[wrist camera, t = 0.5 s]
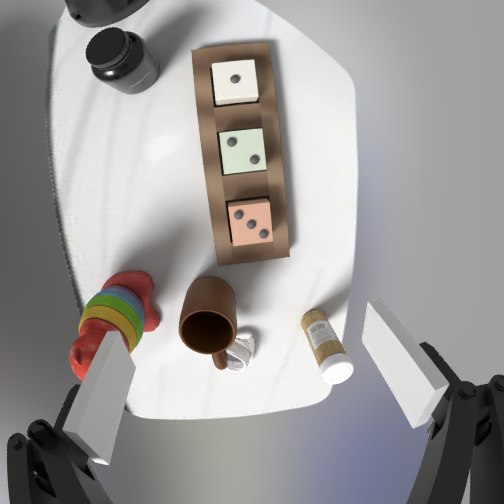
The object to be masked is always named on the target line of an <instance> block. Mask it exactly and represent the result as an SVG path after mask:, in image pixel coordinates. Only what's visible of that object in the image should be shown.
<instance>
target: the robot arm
mask: <svg viewBox="0 0 504 504" xmlns="http://www.w3.org/2000/svg"><path fill="white" fill-rule="evenodd" d="M147 1H148V0H65V2H66V5H67V8H68V11H69V14H70V16H71V17H72V18H73V19H74V20H75V21H76V22H78V23H79V24H80V25H82V26H85V27H90V28H96V27H103V26H107V25H110V24H113V23H116V22H118V21H120V20H122V19H124V18H126V17H128V16H129V15H131V14H132V13H134V12H135V11H137V10H138V9H139V8H141V7H142V6H143V5H144V4H145V3H146V2H147ZM362 342H363V344H364V345H365V347H366V349H367V350H368V352H369V353H370V355H371V357H372V358H373V360H374V362H375V363H376V365H377V367H378V368H379V370H380V372H381V373H382V375H383V377H384V379H385V380H386V382H387V383H388V385H389V387H390V389H391V390H392V392H393V394H394V396H395V397H396V399H397V401H398V403H399V404H400V406H401V408H402V410H403V411H404V413H405V415H406V417H407V419H408V420H409V422H410V424H411V426H412V428H416V427H418V426H420V425H422V424H424V423H426V422H427V421H428V419H429V418H430V416H431V415H432V417H433V418H434V421H433V422H432V424H431V425H430V427H429V428H428V430H427V433H429V431H430V430H431V431H430V435H429V439H428V443H427V446H426V450H425V453H424V457H423V460H422V463H421V466H420V469H419V472H418V475H417V478H416V481H415V483H414V486H413V489H412V491H411V494H410V496H409V498H408V501H407V503H406V504H461V501H462V498H463V494H464V491H465V487H466V483H467V479H468V475H469V470H470V504H504V376H503V375H495V376H493V377H492V378H491V380H490V382H489V383H488V384H484V385H479V386H475V385H474V384H473V383H471V382H468V381H461V380H460V379H459V378H458V377H457V375H456V374H455V373H454V372H453V370H452V369H451V368H450V367H449V365H448V364H447V363H446V362H445V361H444V359H443V358H442V357H441V356H439V353H438V352H437V351H436V350H435V348H434V347H432V346H431V345H429V344H427V343H426V342H424V343H421V344H418V343H417V342H416V340H415V339H414V338H413V337H412V335H411V334H410V333H409V332H408V331H407V329H406V328H405V327H404V326H403V325H402V323H401V322H400V321H399V320H398V319H397V318H396V317H395V315H394V314H393V313H392V312H391V311H390V310H389V308H388V307H387V306H386V305H385V304H384V303H383V301H382V300H381V299H376V300H372V301H368V304H367V311H366V318H365V324H364V330H363V336H362ZM135 369H136V367H135V365H134V363H133V361H132V359H131V357H130V354H129V352H128V350H127V348H126V345H125V343H124V341H123V339H122V336H121V334H120V331H107V333H106V335H105V337H104V339H103V340H102V342H101V344H100V346H99V348H98V350H97V352H96V354H95V356H94V358H93V360H92V363H91V365H90V367H89V369H88V371H87V373H86V375H85V377H84V380H83V382H82V384H81V385H77V384H76V385H75V386H74V387H73V388H72V389H71V390H70V391H69V393H68V395H67V397H66V401H65V402H64V404H63V407H62V408H61V411H60V413H59V415H58V418H57V420H56V423H55V425H54V428H52V426H51V425H50V424H49V423H48V422H47V421H45V420H42V419H39V420H35V421H34V422H32V423H31V424H30V426H29V428H28V431H27V436H28V437H29V438H30V440H28V439H27V438H26V437H25V436H24V435H22V434H20V433H16V434H13V435H12V436H11V437H10V438H9V440H8V444H7V473H8V489H9V499H10V504H113V503H112V502H111V500H110V498H109V497H108V495H107V494H106V492H105V490H104V489H103V487H102V485H101V484H100V482H99V480H98V478H97V476H96V475H95V473H94V471H93V469H92V467H91V465H90V464H89V463H88V458H89V457H90V458H91V459H92V460H93V461H94V462H96V463H101V464H106V465H109V464H110V460H111V455H112V451H113V447H114V443H115V439H116V435H117V431H118V427H119V423H120V420H121V416H122V412H123V409H124V405H125V402H126V398H127V395H128V392H129V388H130V385H131V382H132V378H133V375H134V372H135ZM34 473H35V474H34Z"/></svg>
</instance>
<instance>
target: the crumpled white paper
mask: <svg viewBox="0 0 504 504" xmlns="http://www.w3.org/2000/svg"><path fill="white" fill-rule="evenodd" d="M254 348H255V345H254V340H253V337H250V339H244V340H242V339H239V338H235V341H234V342H233V344H232V345H231V346H230V347H229V348H228V349H226V351H227V353H229V354H231V355H232V356H234V357H236V358H238V359H240V360H241V361H242V362H243V363H241V364H236V363H234V362H233V361H229V360H228V365H227V367H226V369H228V370H230V371H233V372H242V371H244V370H245V369H246V368H247V366H249V365H250V364H251V363H252V360H253V357H254Z"/></svg>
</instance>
